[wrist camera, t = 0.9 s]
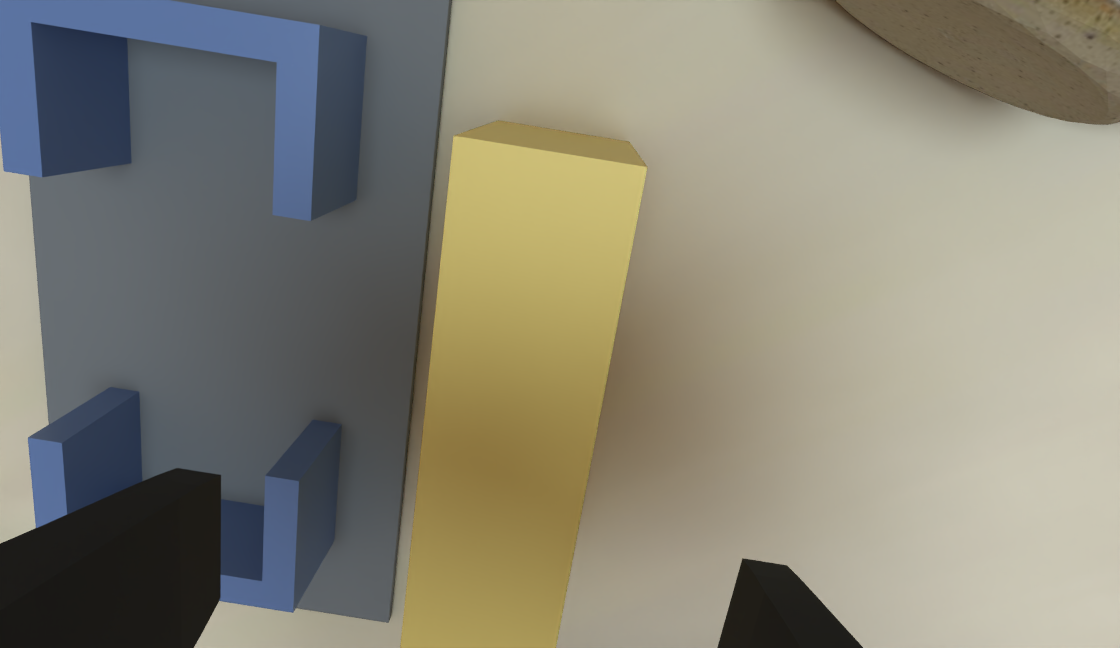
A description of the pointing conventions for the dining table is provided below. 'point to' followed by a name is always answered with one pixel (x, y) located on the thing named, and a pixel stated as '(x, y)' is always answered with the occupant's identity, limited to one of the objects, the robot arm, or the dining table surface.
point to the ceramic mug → (1013, 49)
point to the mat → (256, 278)
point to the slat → (516, 379)
